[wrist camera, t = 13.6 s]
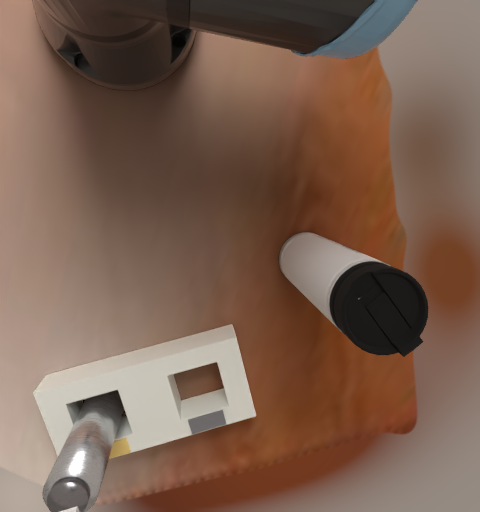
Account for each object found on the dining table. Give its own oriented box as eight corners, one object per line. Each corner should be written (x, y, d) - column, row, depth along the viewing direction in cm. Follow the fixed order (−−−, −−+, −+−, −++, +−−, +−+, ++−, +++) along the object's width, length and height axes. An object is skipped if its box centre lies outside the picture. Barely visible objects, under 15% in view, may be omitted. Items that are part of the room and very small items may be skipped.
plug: (82, 388, 45) (30, 486, 31) (119, 378, 45) (85, 470, 31) (93, 420, 46) (49, 530, 32) (130, 410, 46) (102, 514, 32)
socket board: (46, 374, 44) (32, 394, 40) (232, 323, 46) (236, 337, 42) (75, 450, 46) (64, 476, 42) (251, 399, 48) (257, 419, 44)
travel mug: (299, 296, 46) (380, 379, 27) (267, 253, 45) (328, 309, 26) (340, 264, 46) (451, 324, 27) (310, 220, 45) (403, 251, 25)
